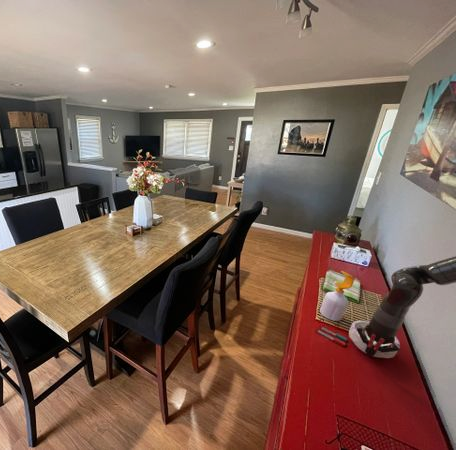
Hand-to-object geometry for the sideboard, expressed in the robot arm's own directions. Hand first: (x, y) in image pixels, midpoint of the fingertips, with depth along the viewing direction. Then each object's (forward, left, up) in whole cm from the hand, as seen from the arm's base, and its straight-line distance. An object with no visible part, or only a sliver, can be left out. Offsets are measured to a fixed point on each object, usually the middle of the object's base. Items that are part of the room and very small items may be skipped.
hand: (368, 354), depth 94 cm
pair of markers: (+12, -2, -4) cm, 13 cm away
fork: (+12, -6, -4) cm, 14 cm away
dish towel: (+18, -51, -4) cm, 54 cm away
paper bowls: (0, -9, -4) cm, 9 cm away
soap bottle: (+16, -19, -4) cm, 25 cm away
